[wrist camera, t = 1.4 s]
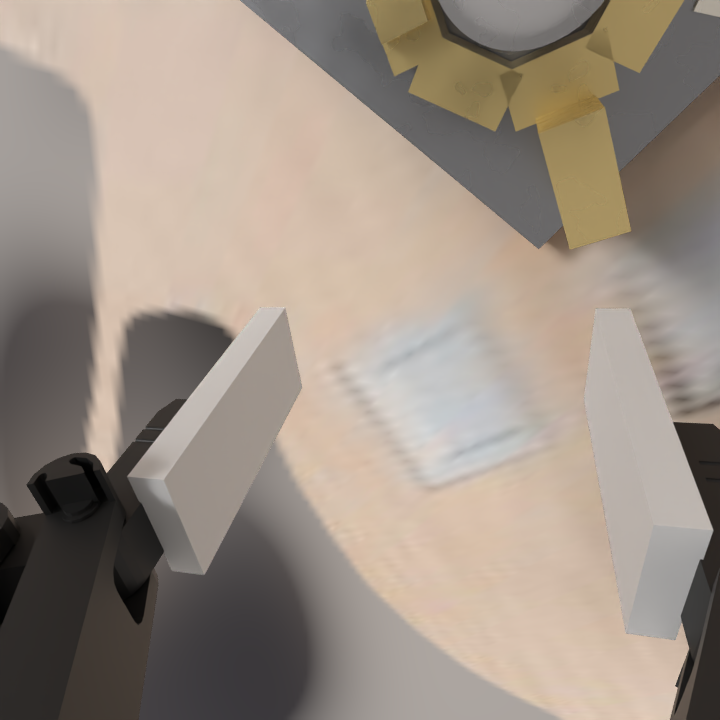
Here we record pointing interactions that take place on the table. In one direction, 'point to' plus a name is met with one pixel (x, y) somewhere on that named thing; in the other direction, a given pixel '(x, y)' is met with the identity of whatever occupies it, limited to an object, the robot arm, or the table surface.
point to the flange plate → (505, 145)
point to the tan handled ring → (537, 93)
